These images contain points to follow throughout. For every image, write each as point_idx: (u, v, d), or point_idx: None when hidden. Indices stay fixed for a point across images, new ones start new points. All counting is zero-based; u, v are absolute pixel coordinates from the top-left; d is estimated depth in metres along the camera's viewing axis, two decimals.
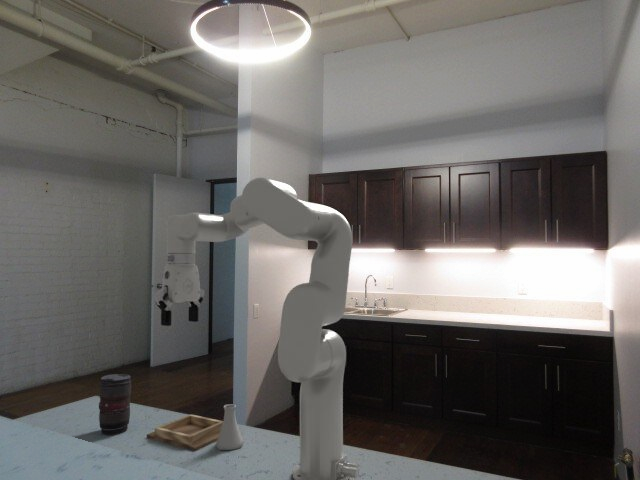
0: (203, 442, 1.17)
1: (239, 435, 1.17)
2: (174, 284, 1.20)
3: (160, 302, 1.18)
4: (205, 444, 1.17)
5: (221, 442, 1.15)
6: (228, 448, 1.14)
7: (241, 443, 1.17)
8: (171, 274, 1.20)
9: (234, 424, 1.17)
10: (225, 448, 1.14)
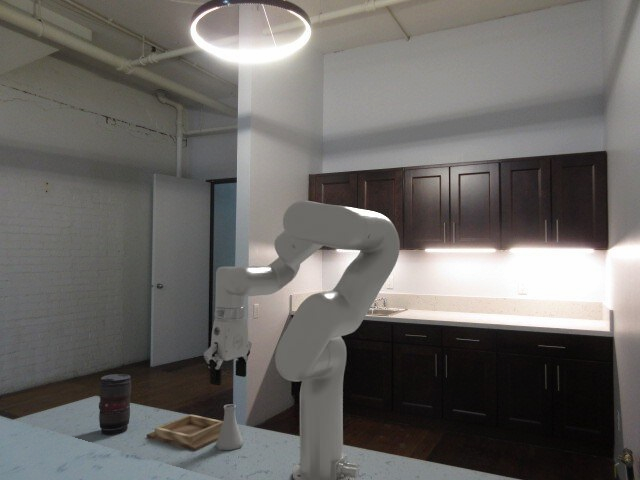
0: (203, 442, 1.17)
1: (239, 435, 1.17)
2: (224, 341, 1.14)
3: (210, 361, 1.12)
4: (205, 444, 1.17)
5: (221, 442, 1.15)
6: (228, 448, 1.14)
7: (241, 443, 1.17)
8: (221, 331, 1.14)
9: (234, 424, 1.17)
10: (225, 448, 1.14)
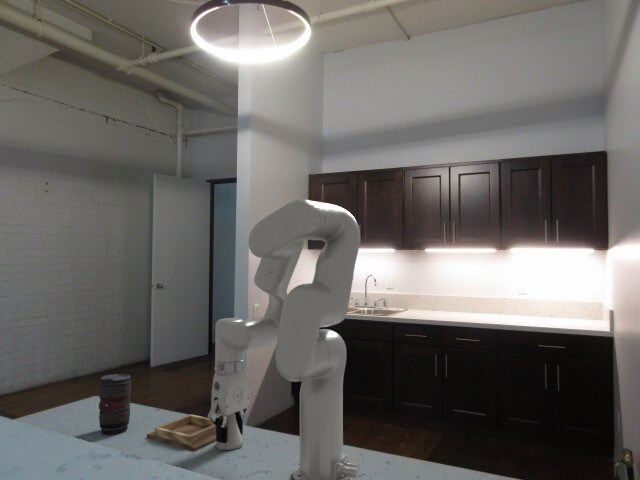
0: (203, 442, 1.17)
1: (239, 435, 1.17)
2: (225, 397, 1.13)
3: (216, 420, 1.13)
4: (205, 444, 1.17)
5: None
6: (228, 448, 1.14)
7: (241, 443, 1.17)
8: (222, 386, 1.14)
9: (234, 424, 1.17)
10: (225, 448, 1.14)
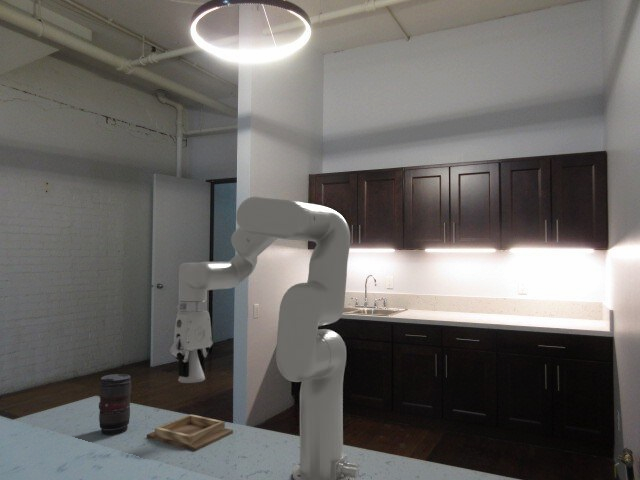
0: (203, 442, 1.17)
1: (201, 371, 1.25)
2: (186, 333, 1.21)
3: (178, 354, 1.20)
4: (205, 444, 1.17)
5: None
6: (190, 381, 1.22)
7: (202, 378, 1.24)
8: (183, 323, 1.21)
9: (196, 360, 1.24)
10: (186, 381, 1.22)
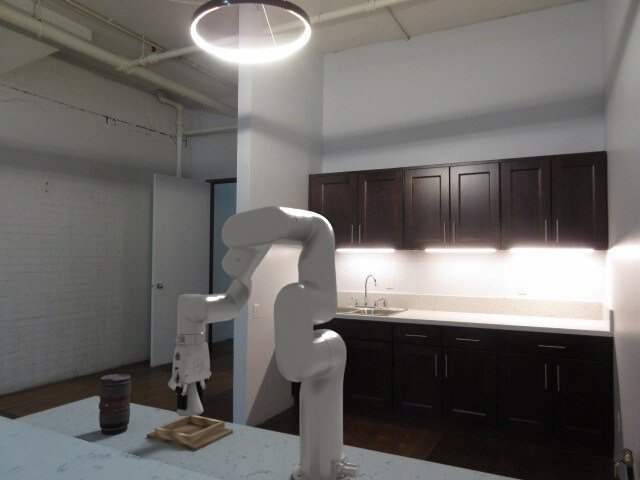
0: (203, 442, 1.17)
1: (199, 403, 1.25)
2: (185, 366, 1.21)
3: (176, 388, 1.20)
4: (205, 444, 1.17)
5: None
6: (188, 414, 1.22)
7: (201, 410, 1.24)
8: (182, 356, 1.21)
9: (194, 392, 1.24)
10: (185, 414, 1.22)
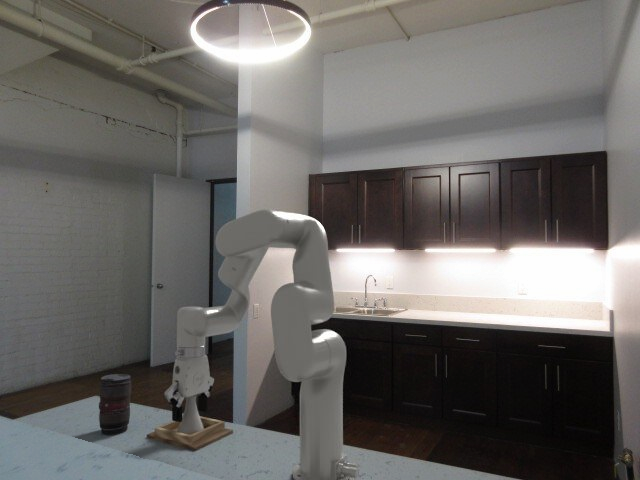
0: (203, 442, 1.17)
1: (200, 422, 1.24)
2: (184, 380, 1.20)
3: (171, 400, 1.19)
4: (205, 444, 1.17)
5: (182, 429, 1.22)
6: (188, 434, 1.21)
7: None
8: (181, 369, 1.21)
9: (195, 412, 1.24)
10: None
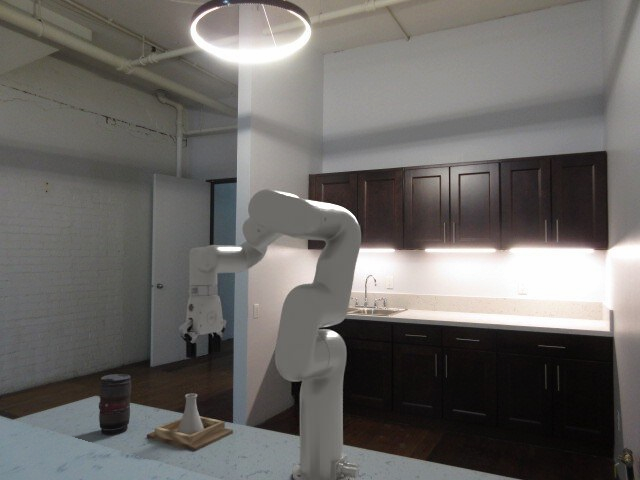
0: (203, 442, 1.17)
1: (200, 422, 1.24)
2: (199, 316, 1.21)
3: (186, 335, 1.19)
4: (205, 444, 1.17)
5: (182, 429, 1.22)
6: (188, 434, 1.21)
7: None
8: (195, 306, 1.22)
9: (195, 412, 1.24)
10: None
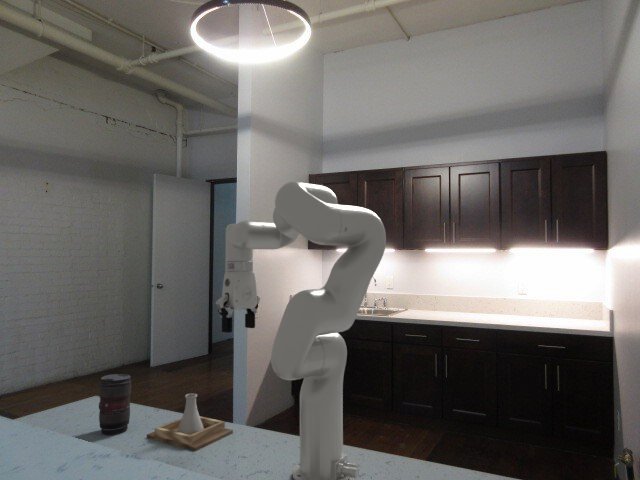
0: (203, 442, 1.17)
1: (200, 422, 1.24)
2: (235, 291, 1.22)
3: (222, 309, 1.20)
4: (205, 444, 1.17)
5: (182, 429, 1.22)
6: (188, 434, 1.21)
7: None
8: (232, 282, 1.23)
9: (195, 412, 1.24)
10: None
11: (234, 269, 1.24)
